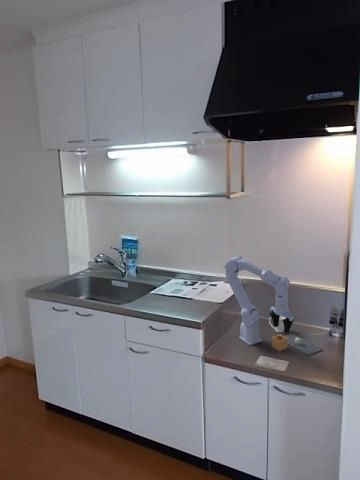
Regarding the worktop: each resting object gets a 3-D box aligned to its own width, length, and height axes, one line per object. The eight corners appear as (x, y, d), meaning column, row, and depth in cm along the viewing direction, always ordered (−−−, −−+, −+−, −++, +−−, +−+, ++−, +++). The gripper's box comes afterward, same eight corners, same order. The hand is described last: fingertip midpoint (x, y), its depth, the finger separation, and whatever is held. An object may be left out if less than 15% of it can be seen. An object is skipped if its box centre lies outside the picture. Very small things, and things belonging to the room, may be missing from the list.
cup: (282, 334, 197) (282, 320, 195) (265, 329, 204) (265, 315, 202) (289, 330, 202) (289, 316, 200) (272, 325, 209) (272, 311, 207)
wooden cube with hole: (271, 346, 186) (271, 337, 185) (280, 343, 188) (280, 334, 187) (279, 351, 181) (279, 341, 180) (287, 348, 183) (287, 338, 182)
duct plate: (277, 339, 193) (277, 333, 192) (292, 334, 197) (292, 328, 197) (307, 356, 175) (307, 349, 175) (322, 350, 180) (322, 344, 179)
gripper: (299, 306, 175) (298, 333, 177) (278, 296, 187) (278, 322, 190) (287, 309, 172) (286, 336, 175) (266, 299, 185) (266, 325, 187)
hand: (281, 329), depth 182 cm, fingers open, 7 cm apart
